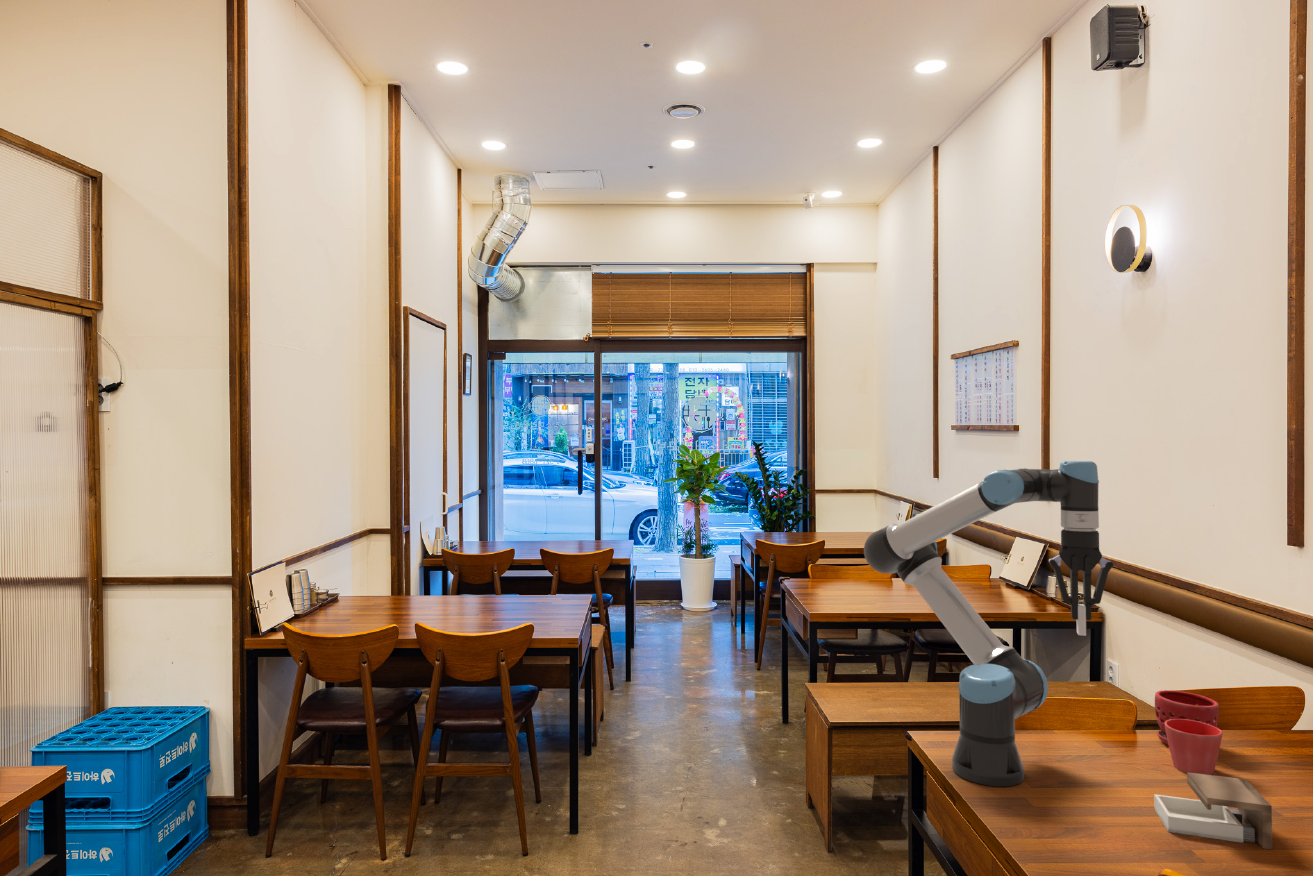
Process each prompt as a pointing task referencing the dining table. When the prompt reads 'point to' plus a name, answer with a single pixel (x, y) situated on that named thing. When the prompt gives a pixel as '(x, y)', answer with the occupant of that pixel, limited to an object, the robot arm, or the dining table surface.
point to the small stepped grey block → (1245, 827)
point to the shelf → (1236, 801)
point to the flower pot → (1193, 745)
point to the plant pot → (1183, 709)
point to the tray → (1197, 818)
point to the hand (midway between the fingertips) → (1081, 634)
